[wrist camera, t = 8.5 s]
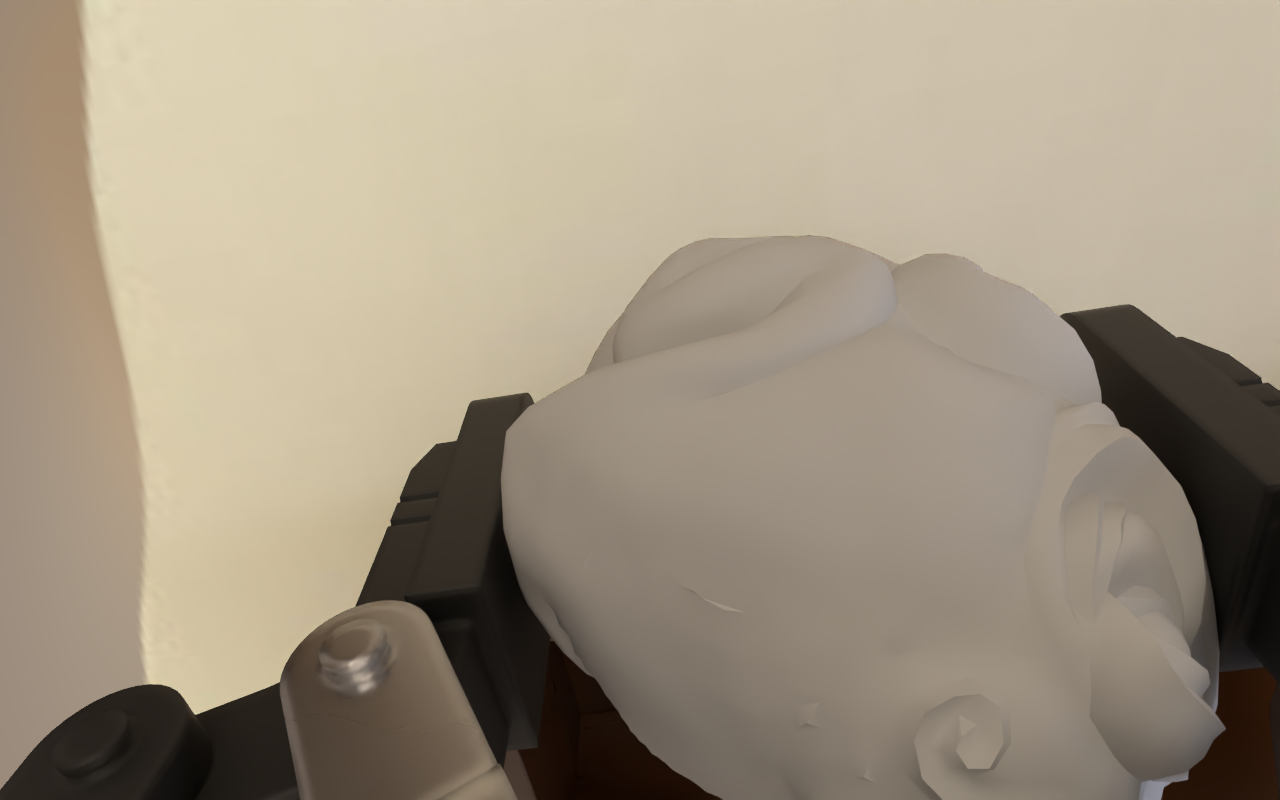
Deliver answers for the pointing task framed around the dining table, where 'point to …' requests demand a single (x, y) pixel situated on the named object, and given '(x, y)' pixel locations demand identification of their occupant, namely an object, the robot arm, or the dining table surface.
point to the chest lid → (1236, 745)
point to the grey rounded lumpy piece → (864, 538)
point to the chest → (589, 748)
